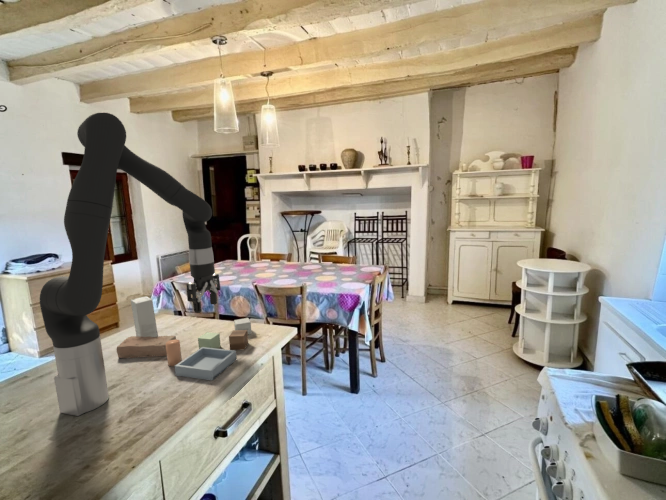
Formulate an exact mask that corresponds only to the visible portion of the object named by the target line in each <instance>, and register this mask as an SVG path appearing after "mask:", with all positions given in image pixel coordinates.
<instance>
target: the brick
mask: <svg viewBox="0 0 666 500" xmlns="http://www.w3.org/2000/svg"><path fill="white" fill-rule="evenodd" d="M176 339H177V337H176V335H161V336H159V335H158V337H142V336H140V337H139V336H136V335H134V336H133V335H132V336H128V337H127V338H125V339H124V340H123V341H121V342H120V343H119V345H117V347H116V353H117V357H118V358H119V359H129V358H130V359H133V358H136V359H137V358H151V357H165V356H166V357H167V351H166V342H168V341H170V340H176Z"/></svg>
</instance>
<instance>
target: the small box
mask: <svg viewBox="0 0 666 500" xmlns="http://www.w3.org/2000/svg"><path fill="white" fill-rule="evenodd" d="M233 323H234V325H233V326H234V330H247V332H248V335H252V322H251V321H250V318H249V317H245V318H239V319H234V320H233Z"/></svg>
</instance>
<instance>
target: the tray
mask: <svg viewBox="0 0 666 500" xmlns="http://www.w3.org/2000/svg"><path fill="white" fill-rule="evenodd" d="M236 359H237V350H230V349H225V348H224V349H223V348H218V349H216V348H207V347H201V348H200V349H199V348H198V349H197V350H196V351H194V352H193V353H192V354H190V355H188V356H187V357H185V358H184V359H182V361H181V362H180V363H178V364H177V365H175V366H174V371H175V376H178V377H184V378H193V379H199V380H207V381H212V380H213V381H215V379H216V378H217V377H219V376H220V375H221V374H222V373H223V372H224V371H226V370H227V369H228V368H229V367H230V366H231V365H232V364H233V363H234V362H236V361H237V360H236ZM235 360H236V361H235ZM227 367H228V368H227ZM219 374H220V375H219Z"/></svg>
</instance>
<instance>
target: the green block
mask: <svg viewBox="0 0 666 500" xmlns="http://www.w3.org/2000/svg"><path fill="white" fill-rule="evenodd" d="M220 335H221V334H220V332H212V331H211V332H210V331H207V332H205V333H204V334H202V335H200V336H198V338H197V343H198V350H199V349H200V348H201V347H207V348H216V349H220V347H221V337H220Z"/></svg>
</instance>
